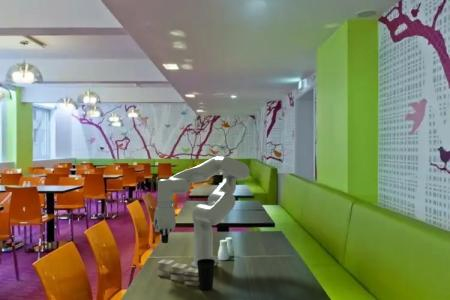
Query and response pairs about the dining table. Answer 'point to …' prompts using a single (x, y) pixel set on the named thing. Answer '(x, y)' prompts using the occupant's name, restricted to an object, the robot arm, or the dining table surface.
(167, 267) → the plain block
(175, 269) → the banded block one
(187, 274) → the banded block two
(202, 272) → the cup
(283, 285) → the dining table surface
